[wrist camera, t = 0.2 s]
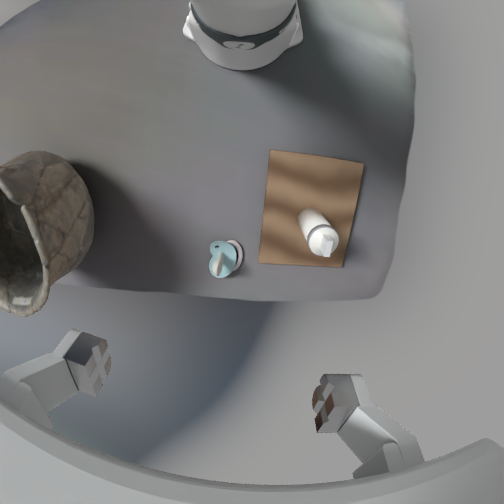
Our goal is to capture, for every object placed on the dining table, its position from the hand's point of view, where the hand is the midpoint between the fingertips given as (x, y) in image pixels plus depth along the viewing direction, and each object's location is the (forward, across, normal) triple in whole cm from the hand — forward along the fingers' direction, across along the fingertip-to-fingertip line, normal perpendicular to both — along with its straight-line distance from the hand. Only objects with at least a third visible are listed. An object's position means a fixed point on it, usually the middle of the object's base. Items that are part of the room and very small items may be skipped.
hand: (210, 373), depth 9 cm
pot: (+37, +36, +6) cm, 52 cm away
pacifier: (+40, +2, +13) cm, 42 cm away
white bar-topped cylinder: (+38, -12, +4) cm, 40 cm away
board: (+39, -11, +2) cm, 41 cm away
